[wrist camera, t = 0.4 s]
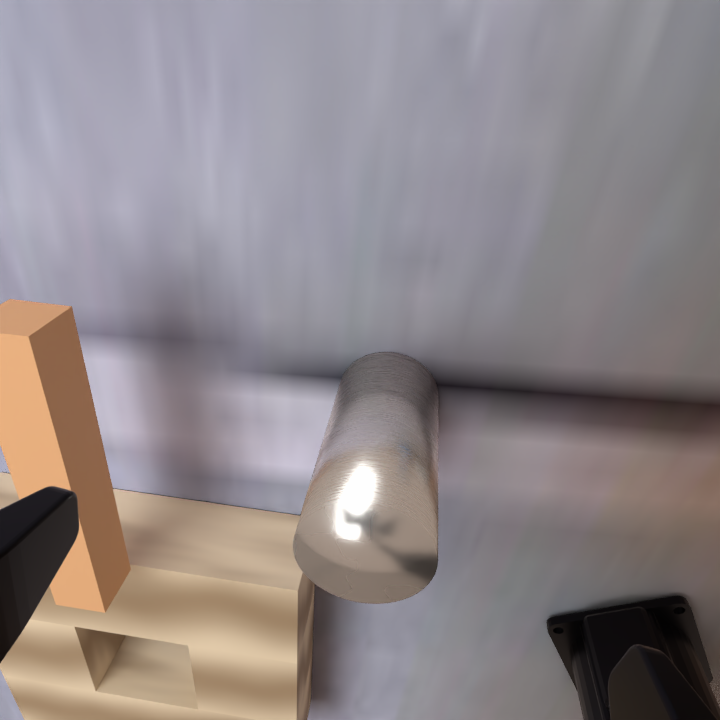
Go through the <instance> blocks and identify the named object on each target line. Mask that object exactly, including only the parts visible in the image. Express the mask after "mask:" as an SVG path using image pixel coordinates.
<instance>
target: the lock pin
mask: <svg viewBox="0 0 720 720" xmlns="http://www.w3.org/2000/svg"><path fill="white" fill-rule="evenodd" d="M0 445H1V448H2V451H3V454H4V457H5V460H6V463H7V465H8V468H9V471H10V474H11V477H12V480H13V483H14V486H15V488H16V491H17V494H18V497H19V500H20V499H22V498H24V497H26V496H28V495H30V494H32V493H34V492H36V491H39V490H41V489H43V488H45V487H49V486H56V487H59V488H63V489H67V490H71V491H73V492H75V494H76V495H77V499H78V514H79V532H78V535H77V538H76V540H75V542H74V544H73V546H72V548H71V549H70V551H69V553H68V555H67V556H66V558H65V560H64V561H63V563H62V565H61V567H60V568H59V570H58V572H57V574H56V575H55V577H54V579H53V580H52V582H51V584H50V589H51V592H52V595H53V598H54V601H55V603H56V605H60V606H66V607H72V608H79V609H85V610H91V611H97V612H103V613H106V611H107V609H108V607H109V606H110V604H111V602H112V601H113V599H114V597H115V596H116V594H117V592H118V591H119V589H120V587H121V586H122V584H123V582H124V581H125V579H126V577H127V576H128V574H129V572H130V571H131V567H130V563H129V559H128V554H127V550H126V545H125V541H124V536H123V532H122V527H121V523H120V519H119V514H118V510H117V505H116V501H115V496H114V492H113V488H112V483H111V479H110V474H109V470H108V465H107V461H106V456H105V452H104V448H103V443H102V439H101V434H100V430H99V425H98V421H97V416H96V412H95V408H94V403H93V399H92V394H91V390H90V385H89V381H88V376H87V372H86V368H85V363H84V359H83V354H82V350H81V345H80V341H79V336H78V332H77V328H76V323H75V319H74V314H73V310H72V306H63V305H55V304H47V303H38V302H30V301H21V300H13V299H9V300H8V301H6V302H4V303H2V304H1V305H0Z"/></svg>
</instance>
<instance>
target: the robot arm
mask: <svg viewBox="0 0 720 720" xmlns="http://www.w3.org/2000/svg"><path fill="white" fill-rule="evenodd" d="M78 532H79V514H78V499H77V495H76V494H75V492H73V491H71V490H67V489H63V488H59V487H56V486H49V487H45V488H43V489H41V490H39V491H36V492H34V493H32V494H30V495H28V496H26V497H24V498H22V499H20V500H18V501H16V502H14V503H12V504H10V505H8V506H6V507H4V508H2V509H0V663H1V662H2V660H3V659H4V657H5V656H6V655H7V653H8V652H9V650H10V649H11V648H12V646H13V645H14V643H15V642H16V640H17V639H18V637H19V636H20V634H21V633H22V631H23V630H24V628H25V626H26V625H27V623H28V622H29V620H30V618H31V617H32V615H33V613H34V611H35V610H36V608H37V606H38V605H39V603H40V601H41V599H42V598H43V596H44V594H45V592H46V591H47V589H48V587H49V586H50V584H51V582H52V580H53V579H54V577H55V575H56V574H57V572H58V570H59V568H60V567H61V565H62V563H63V561H64V560H65V558H66V556H67V555H68V553H69V551H70V549H71V548H72V546H73V544H74V542H75V540H76V538H77V535H78ZM546 623H547V628H548V633H549V635H550V637H551V639H552V641H553V643H554V645H555V647H556V649H557V651H558V653H559V655H560V657H561V659H562V661H563V663H564V665H565V667H566V669H567V671H568V673H569V675H570V677H571V679H572V681H573V683H574V685H575V687H576V689H577V691H578V696H579V700H580V705H581V710H582V714H583V719H584V720H720V708H719V705H718V703H717V701H716V698H715V696H714V694H713V691H712V689H711V687H710V684H709V683H710V682H711V681H712V680H713V677H712V674H711V671H710V668H709V664H708V661H707V658H706V655H705V652H704V648H703V645H702V642H701V639H700V636H699V632H698V629H697V626H696V623H695V620H694V616H693V613H692V610H691V607H690V605H689V603H688V601H687V599H686V598H684V597H681V596H672V597H666V598H660V599H654V600H649V601H643V602H637V603H631V604H626V605H620V606H614V607H608V608H603V609H597V610H591V611H585V612H580V613H574V614H568V615H562V616H557V617H552V618H550V619H548V620H547V622H546Z"/></svg>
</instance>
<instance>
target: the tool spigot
mask: <svg viewBox="0 0 720 720" xmlns="http://www.w3.org/2000/svg"><path fill="white" fill-rule="evenodd" d="M293 553H294V556H295V559H296V562H297V564H298V566H299V567H300V569H301V570H302V572H303V573H304V574H305V575H306V576H307V577H308V578H309V579H310V580H311V581H312V582H313V583H314V584H316V585H317V586H318V587H320V588H322V589H323V590H325V591H327V592H329V593H331V594H333V595H335V596H338V597H340V598H343V599H347V600H350V601H355V602H361V603H373V604H379V603H390V602H396V601H400V600H403V599H406V598H408V597H411V596H413V595H415V594H417V593H418V592H420V591H421V590H422V589H424V588H425V587H426V586H427V585H428V584H429V583H430V581H431V580H432V578H433V577H434V575H435V572H436V569H437V564H438V389H437V385H436V382H435V380H434V378H433V376H432V375H431V373H430V372H429V371H428V369H426V368H425V367H424V366H423V365H422V364H421V363H419V362H418V361H416V360H415V359H413V358H411V357H409V356H406V355H403V354H400V353H394V352H378V353H372V354H369V355H366V356H364V357H362V358H360V359H358V360H356V361H355V362H354V363H352V364H351V365H350V366H349V367H348V368H347V370H346V371H345V373H344V374H343V376H342V378H341V382H340V385H339V388H338V392H337V395H336V398H335V402H334V405H333V408H332V412H331V415H330V418H329V422H328V425H327V428H326V432H325V435H324V438H323V442H322V445H321V448H320V452H319V455H318V458H317V462H316V465H315V468H314V472H313V475H312V478H311V482H310V485H309V488H308V492H307V495H306V498H305V502H304V505H303V508H302V512H301V515H300V518H299V522H298V525H297V528H296V532H295V535H294V538H293Z"/></svg>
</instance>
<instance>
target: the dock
mask: <svg viewBox="0 0 720 720" xmlns="http://www.w3.org/2000/svg"><path fill="white" fill-rule="evenodd" d="M113 492H114V496H115V501H116V505H117V510H118V514H119V519H120V523H121V527H122V532H123V536H124V541H125V545H126V550H127V554H128V559H129V563H130V567H131V571H130V572H129V574H128V576H127V577H126V579H125V581H124V582H123V584H122V586H121V587H120V589H119V591H118V592H117V594H116V596H115V597H114V599H113V601H112V602H111V604H110V606H109V607H108V609H107V611H106V613H103V612H97V611H91V610H85V609H79V608H72V607H66V606H60V605H56V603H55V601H54V598H53V595H52V592H51V589H50V586H49V587H48V589H47V591H46V592H45V594H44V596H43V598H42V599H41V601H40V603H39V605H38V606H37V608H36V610H35V611H34V613H33V615H32V617H31V618H30V620H29V622H28V623H27V625H26V626H25V628H24V630H23V631H22V633H21V634H20V636H19V637H18V639H17V640H16V642H15V643H14V645H13V646H12V648H11V649H10V650H9V652H8V653H7V655H6V656H5V657H4V659H3V660H2V662H1V663H0V669H1V671H2V673H3V675H4V678H5V680H6V682H7V684H8V686H9V688H10V690H11V692H12V694H13V696H14V699H15V701H16V703H17V705H18V707H19V709H20V711H21V713H22V715H23V718H24V720H307V717H308V712H309V707H310V702H311V678H312V648H313V619H314V590H315V584H314V583H313V582H312V581H311V580H310V579H309V578H308V577H307V576H306V575H305V574H304V573H303V572H302V570H301V569H300V567H299V566H298V564H297V562H296V559H295V556H294V553H293V538H294V535H295V532H296V528H297V525H298V522H299V518H300V516H298V515H291V514H285V513H278V512H271V511H264V510H257V509H250V508H243V507H236V506H229V505H223V504H216V503H209V502H202V501H195V500H188V499H181V498H174V497H167V496H160V495H154V494H147V493H140V492H133V491H126V490H119V489H113ZM18 500H19V497H18V494H17V491H16V488H15V486H14V483H13V480H12V477H11V474H9V473H2V472H1V473H0V509H2V508H4V507H6V506H8V505H10V504H12V503H14V502H16V501H18Z"/></svg>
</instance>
